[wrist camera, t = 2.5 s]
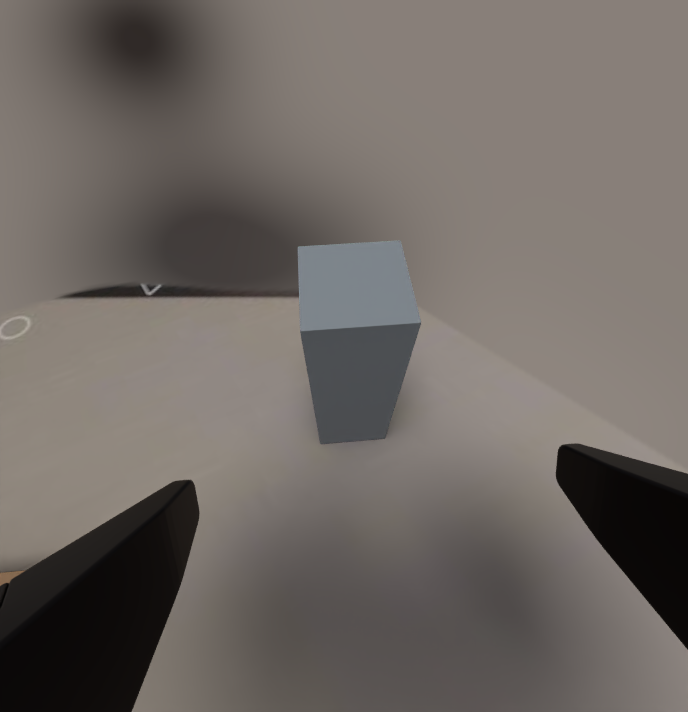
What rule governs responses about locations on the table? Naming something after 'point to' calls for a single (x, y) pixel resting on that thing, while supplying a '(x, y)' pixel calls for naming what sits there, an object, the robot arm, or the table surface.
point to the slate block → (356, 334)
